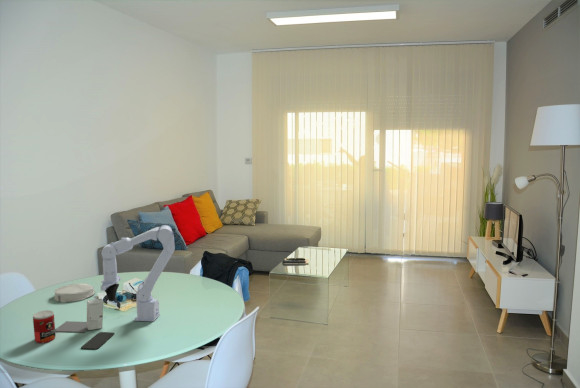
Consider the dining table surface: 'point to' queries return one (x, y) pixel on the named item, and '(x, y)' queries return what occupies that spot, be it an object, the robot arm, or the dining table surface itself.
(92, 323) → the skincare box
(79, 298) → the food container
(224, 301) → the dining table surface
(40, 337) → the canned food
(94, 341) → the phone
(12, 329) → the dining table surface
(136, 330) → the dining table surface
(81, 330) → the mat
